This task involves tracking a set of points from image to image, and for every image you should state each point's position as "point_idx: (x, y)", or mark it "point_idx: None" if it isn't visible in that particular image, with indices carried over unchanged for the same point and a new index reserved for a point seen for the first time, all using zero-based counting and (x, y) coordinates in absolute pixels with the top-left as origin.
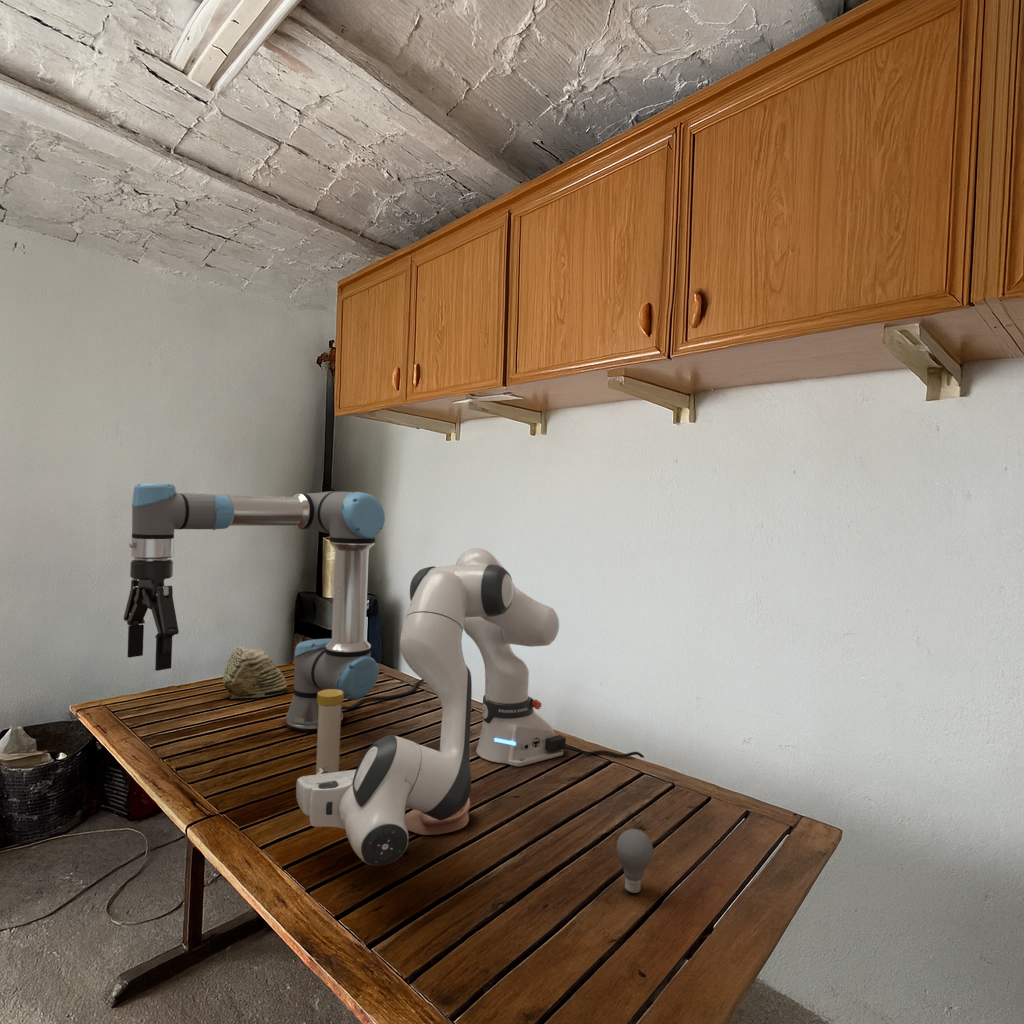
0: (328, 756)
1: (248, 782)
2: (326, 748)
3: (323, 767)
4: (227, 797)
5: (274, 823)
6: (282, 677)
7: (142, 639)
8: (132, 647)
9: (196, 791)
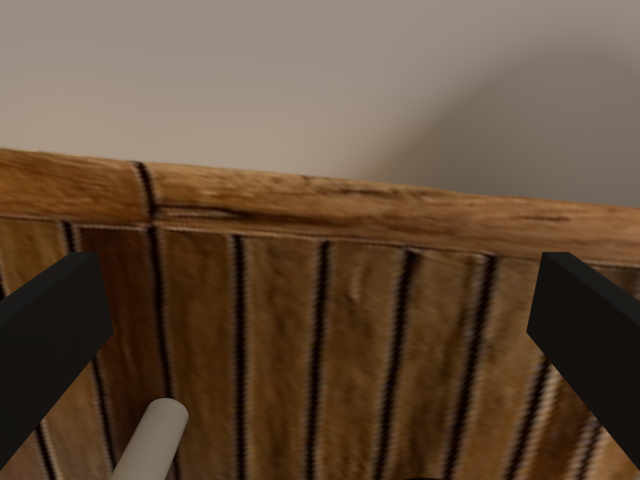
0: (127, 445)
1: (246, 318)
2: (121, 457)
3: (142, 422)
4: (209, 264)
5: None
6: None
7: (594, 408)
8: (579, 307)
9: (277, 236)
